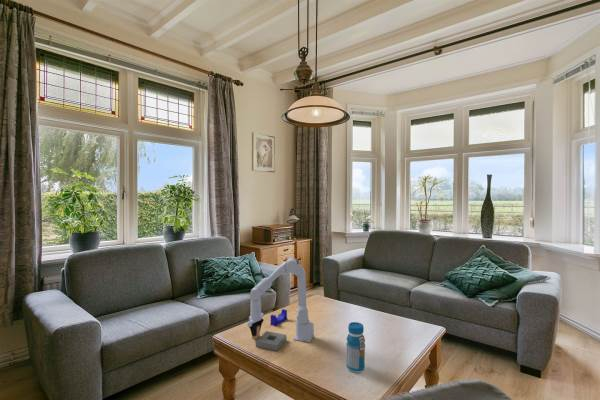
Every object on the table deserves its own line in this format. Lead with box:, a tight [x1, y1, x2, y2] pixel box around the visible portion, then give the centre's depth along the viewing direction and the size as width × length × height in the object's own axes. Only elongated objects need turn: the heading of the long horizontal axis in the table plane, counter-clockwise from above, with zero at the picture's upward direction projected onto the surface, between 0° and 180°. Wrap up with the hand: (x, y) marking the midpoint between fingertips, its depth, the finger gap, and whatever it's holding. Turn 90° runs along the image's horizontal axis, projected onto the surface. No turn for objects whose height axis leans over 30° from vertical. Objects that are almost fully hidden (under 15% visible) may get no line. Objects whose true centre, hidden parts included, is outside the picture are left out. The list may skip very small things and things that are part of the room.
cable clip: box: [270, 308, 288, 327], centre depth 192 cm, size 12×4×6 cm, turn 144°
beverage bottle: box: [345, 321, 366, 374], centre depth 142 cm, size 8×8×20 cm
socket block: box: [255, 330, 287, 352], centre depth 165 cm, size 12×12×3 cm
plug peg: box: [251, 326, 261, 340], centre depth 171 cm, size 3×3×6 cm
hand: (255, 334), depth 171 cm, fingers open, 4 cm apart
